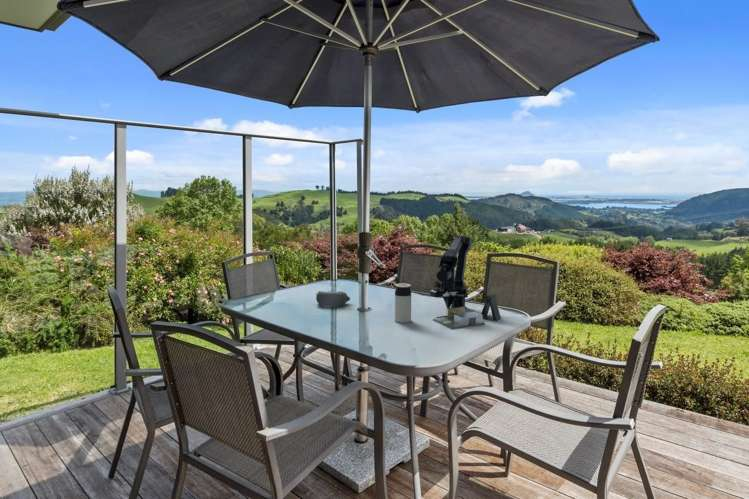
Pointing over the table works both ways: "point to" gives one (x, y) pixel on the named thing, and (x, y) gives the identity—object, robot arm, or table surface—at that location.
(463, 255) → the robot arm
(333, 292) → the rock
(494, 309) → the phone stand
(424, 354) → the table surface
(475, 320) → the frame
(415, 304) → the table surface
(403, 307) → the travel mug
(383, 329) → the table surface
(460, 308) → the plate
